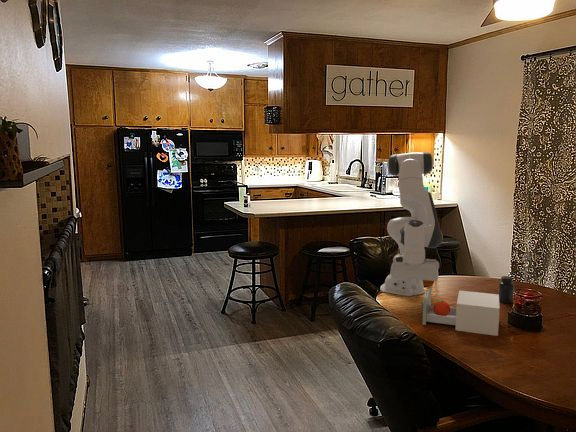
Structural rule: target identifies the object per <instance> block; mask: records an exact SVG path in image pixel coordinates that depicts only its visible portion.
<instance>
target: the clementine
mask: <svg viewBox="0 0 576 432" xmlns="http://www.w3.org/2000/svg"><path fill="white" fill-rule="evenodd" d="M433 302H435V303H434V304H433V305H434V307H433V310H434V312H435V314H436V315H442V316H447V315H448V314H449V312H450V307H451V306H450V305H449V303H448V302H447V301H445V300H441V299H437V300H434V301H433Z"/></svg>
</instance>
